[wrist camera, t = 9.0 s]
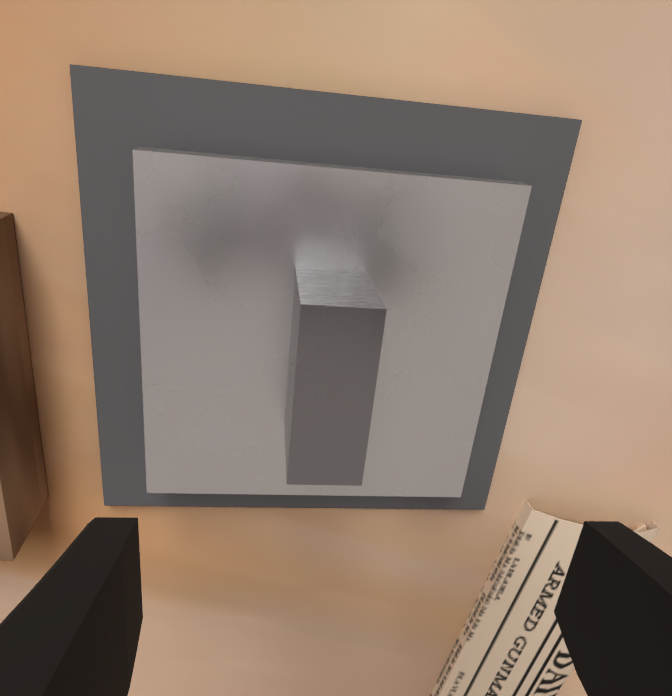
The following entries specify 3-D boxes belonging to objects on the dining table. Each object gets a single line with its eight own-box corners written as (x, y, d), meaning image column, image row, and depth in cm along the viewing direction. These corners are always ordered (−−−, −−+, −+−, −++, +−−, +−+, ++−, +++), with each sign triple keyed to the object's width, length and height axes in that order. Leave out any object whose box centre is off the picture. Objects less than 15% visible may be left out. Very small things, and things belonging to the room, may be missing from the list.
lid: (448, 469, 21) (491, 563, 17) (156, 463, 20) (124, 563, 15) (509, 177, 17) (587, 205, 13) (145, 144, 16) (98, 163, 11)
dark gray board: (480, 502, 22) (484, 509, 22) (107, 498, 20) (104, 505, 20) (575, 119, 17) (581, 120, 16) (74, 65, 15) (69, 64, 15)
